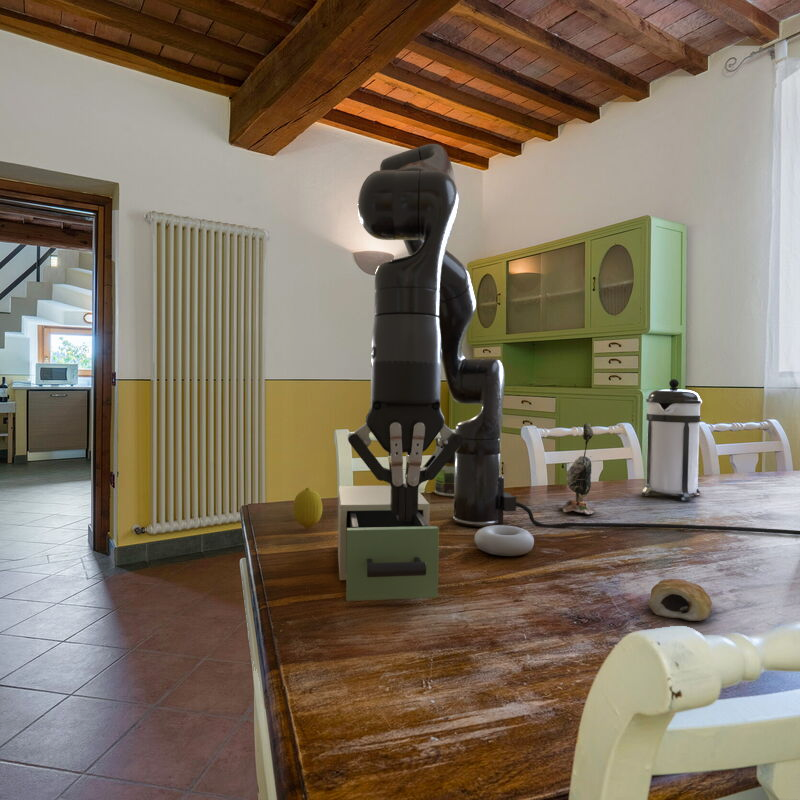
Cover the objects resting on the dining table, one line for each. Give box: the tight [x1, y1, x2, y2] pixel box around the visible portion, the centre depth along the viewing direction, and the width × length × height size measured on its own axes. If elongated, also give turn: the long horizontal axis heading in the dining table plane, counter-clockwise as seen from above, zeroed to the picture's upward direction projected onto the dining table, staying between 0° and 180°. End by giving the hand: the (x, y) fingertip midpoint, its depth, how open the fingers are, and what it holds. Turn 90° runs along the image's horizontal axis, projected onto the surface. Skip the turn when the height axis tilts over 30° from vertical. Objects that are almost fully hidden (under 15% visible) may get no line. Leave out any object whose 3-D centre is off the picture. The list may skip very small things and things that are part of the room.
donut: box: [473, 524, 535, 557], centre depth 96 cm, size 10×4×10 cm
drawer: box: [345, 510, 440, 602], centre depth 76 cm, size 18×12×9 cm, turn 7°
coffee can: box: [434, 436, 455, 498], centre depth 146 cm, size 10×10×14 cm
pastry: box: [647, 578, 713, 622], centre depth 72 cm, size 9×7×4 cm
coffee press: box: [641, 378, 703, 503], centre depth 146 cm, size 17×16×30 cm
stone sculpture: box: [558, 422, 596, 515], centre depth 127 cm, size 8×11×20 cm
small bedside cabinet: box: [337, 484, 430, 581], centre depth 89 cm, size 15×13×11 cm
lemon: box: [292, 487, 323, 530], centre depth 108 cm, size 6×6×8 cm
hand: (403, 518), depth 62 cm, fingers closed
